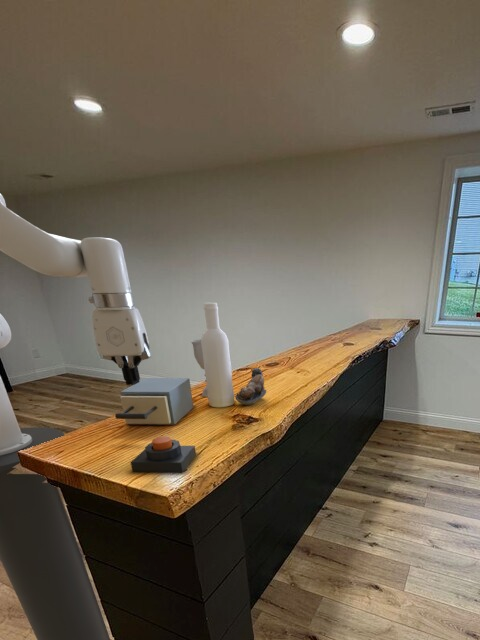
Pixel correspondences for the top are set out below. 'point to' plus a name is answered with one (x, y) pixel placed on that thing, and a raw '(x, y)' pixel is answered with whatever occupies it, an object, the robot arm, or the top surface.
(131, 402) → the cream drawer
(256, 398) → the brown figurine on dish
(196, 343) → the chalice
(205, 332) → the bottle
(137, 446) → the top surface
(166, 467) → the control block
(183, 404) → the drawer cabinet
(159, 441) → the button
